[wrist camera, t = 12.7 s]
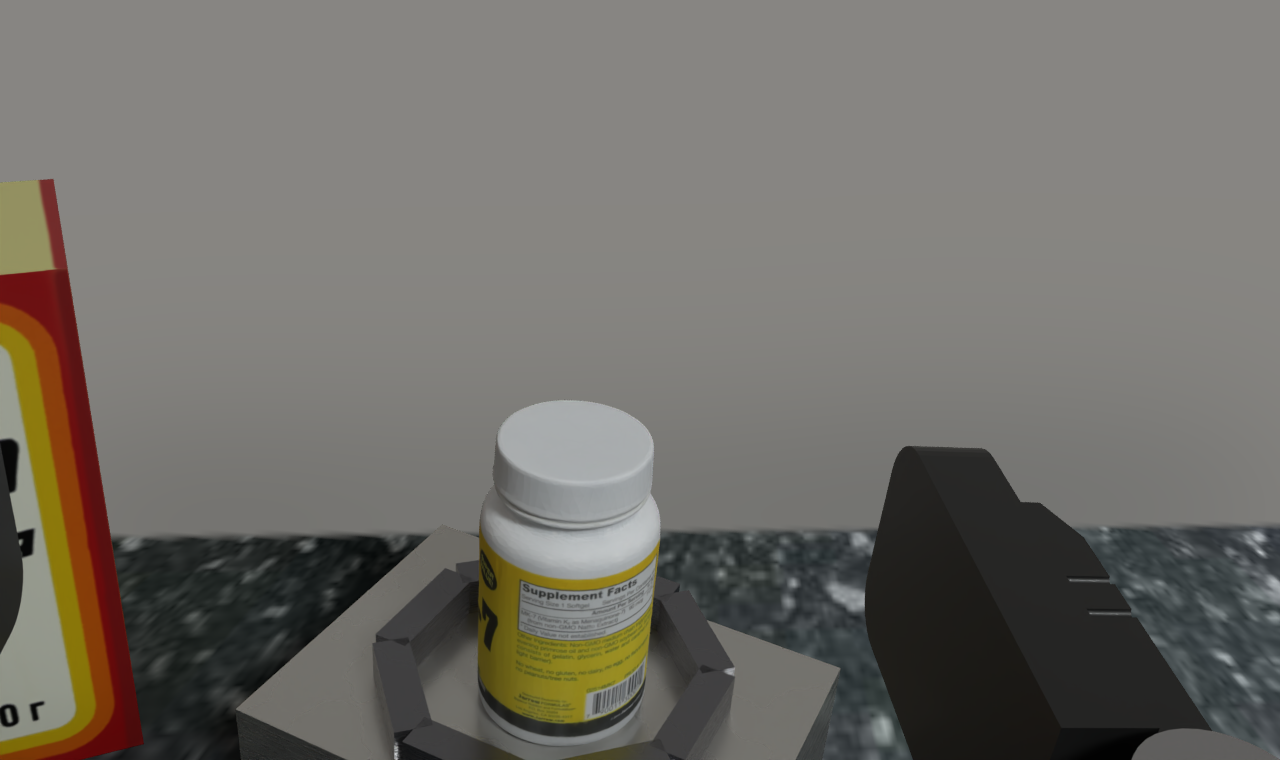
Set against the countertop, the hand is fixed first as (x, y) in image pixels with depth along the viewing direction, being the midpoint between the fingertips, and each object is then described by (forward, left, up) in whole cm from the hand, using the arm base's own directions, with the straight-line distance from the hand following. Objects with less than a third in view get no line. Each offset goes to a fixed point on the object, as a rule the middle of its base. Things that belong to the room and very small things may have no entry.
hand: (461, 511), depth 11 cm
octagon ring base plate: (-7, +16, -22) cm, 28 cm away
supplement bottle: (-7, +16, -18) cm, 25 cm away
